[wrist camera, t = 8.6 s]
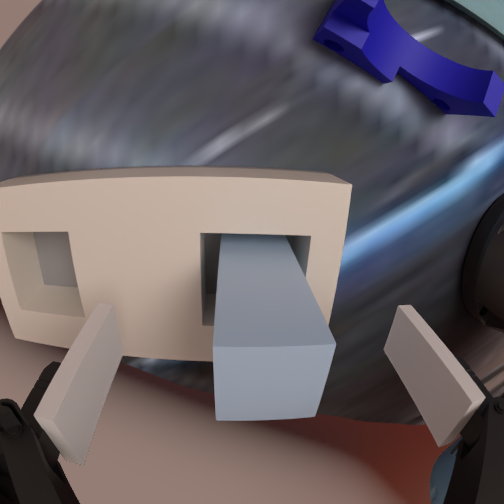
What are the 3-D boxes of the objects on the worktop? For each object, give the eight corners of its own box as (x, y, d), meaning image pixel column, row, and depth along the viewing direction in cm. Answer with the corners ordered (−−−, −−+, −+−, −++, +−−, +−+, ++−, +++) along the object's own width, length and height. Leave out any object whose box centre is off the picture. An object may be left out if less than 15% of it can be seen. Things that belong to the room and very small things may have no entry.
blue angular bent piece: (311, 39, 17) (340, 10, 11) (336, -3, 15) (368, -36, 10) (438, 128, 19) (489, 134, 14) (455, 87, 18) (505, 85, 12)
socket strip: (325, 171, 20) (351, 184, 16) (306, 319, 25) (320, 359, 20) (16, 176, 18) (-23, 190, 14) (41, 306, 23) (15, 338, 18)
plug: (281, 229, 21) (336, 344, 10) (276, 291, 22) (311, 427, 11) (222, 227, 20) (212, 346, 9) (221, 291, 22) (216, 430, 11)
